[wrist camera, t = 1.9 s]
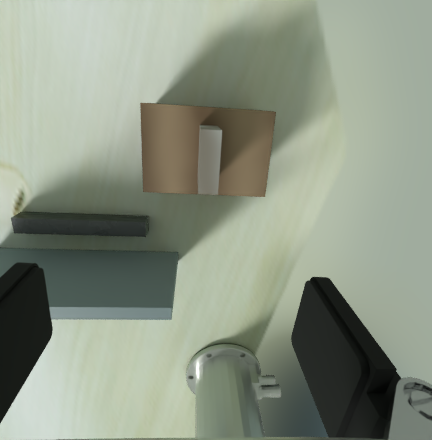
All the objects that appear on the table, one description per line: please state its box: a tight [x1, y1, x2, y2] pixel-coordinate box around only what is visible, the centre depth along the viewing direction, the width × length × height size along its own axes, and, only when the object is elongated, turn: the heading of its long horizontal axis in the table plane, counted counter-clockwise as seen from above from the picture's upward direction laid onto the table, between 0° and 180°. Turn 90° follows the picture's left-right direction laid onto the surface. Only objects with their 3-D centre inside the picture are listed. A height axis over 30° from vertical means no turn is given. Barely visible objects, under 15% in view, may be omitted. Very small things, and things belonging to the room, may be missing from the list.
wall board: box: [0, 248, 178, 320], centre depth 34 cm, size 24×2×12 cm, turn 86°
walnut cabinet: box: [140, 103, 276, 197], centre depth 29 cm, size 12×8×14 cm, turn 86°
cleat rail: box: [11, 212, 149, 237], centre depth 37 cm, size 16×2×2 cm, turn 86°
